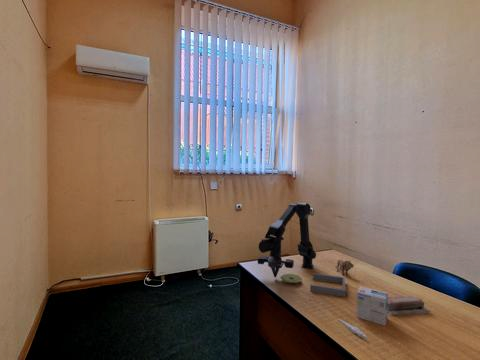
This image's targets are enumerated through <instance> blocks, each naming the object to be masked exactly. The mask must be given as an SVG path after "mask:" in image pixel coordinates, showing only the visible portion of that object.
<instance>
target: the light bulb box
mask: <svg viewBox="0 0 480 360" xmlns="http://www.w3.org/2000/svg"><path fill="white" fill-rule="evenodd" d="M388 297H389V294H388V292H385V291H383V290H382V291H381V290H377V289H373V288H368V287H364V286H359V288H358V289H357V292H356V316H355V317H356V318H359V319H361V320H365V321H368V322H372V323H375V324H378V325H382V326H386V324H387V321H388V313H387V310H388Z"/></svg>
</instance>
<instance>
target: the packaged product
mask: <svg viewBox="0 0 480 360" xmlns="http://www.w3.org/2000/svg"><path fill="white" fill-rule="evenodd" d="M425 313H426V314H431V309H429V308H427V307H425V302H424V301H423V300H422V299H421V298H420V297H416V296H413V295H412V296H411V295H408V296H407V295H405V296H404V295H403V296H388V310H387V314H389V315H390V316H408V315H411V316H412V315H424V314H425Z"/></svg>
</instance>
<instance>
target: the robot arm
mask: <svg viewBox="0 0 480 360" xmlns="http://www.w3.org/2000/svg"><path fill="white" fill-rule="evenodd" d="M295 214H296V215H297V217H298V218H299V233H300V241H299V243H298V244H297V251H298V253H299V256H300V257H302V265H301V268H304V269H313V268H314V264H313V259H316V258H317V253H316V252H315V250H314V247H313V244H312V242H311V241H310V230H309V229H310V228H309V216H310V214H311V205H310V203H307V202H300V201H299V202H297V203H289V204H288V206H287V208H286V209H285V211H284V212H283V213H282V215H281V216H280V217H279V219H278V220H276V221H274V222H273V223H272V224H271V225H269V227H268V230H267V232H266V234H265V236H264V238H262V239H261V240H260V242H259V243H258V250H259V251H260V252H261V253H263V254H264V253H267V252H269V256H266V255H265V256H264V255H260V256H259V257H258V259H257V264H258V265H264V264H265V263H267V267H269V268H270V269H271V271H272V274H273V277H274V278H276V279H277V276H278V274H279V270H280V269H282V268H283V266H284V267H285V268H287V269H293V267H294V265H295V264H294V263H295V261H294V259H290V258H286V259H285V260H282V241H283V240H285V238H284V237H283V235H284V234H285V231H286V226H287V225H288V223H289V222H290V221H291V219H292V218H293V216H294V215H295Z"/></svg>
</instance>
